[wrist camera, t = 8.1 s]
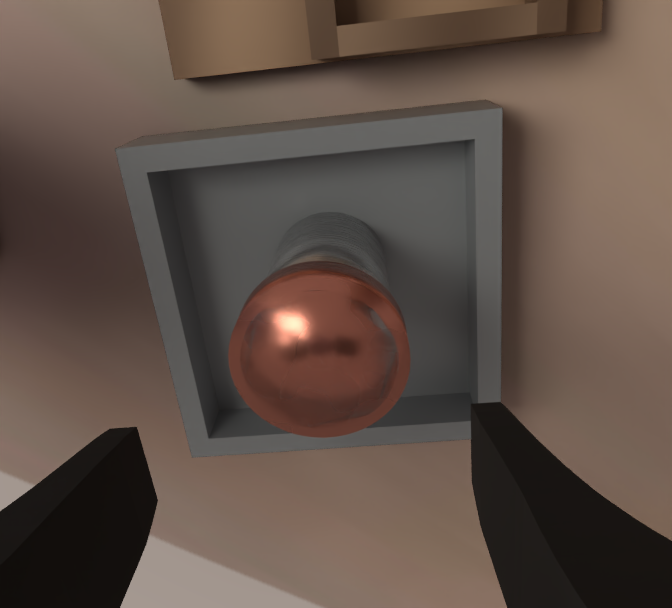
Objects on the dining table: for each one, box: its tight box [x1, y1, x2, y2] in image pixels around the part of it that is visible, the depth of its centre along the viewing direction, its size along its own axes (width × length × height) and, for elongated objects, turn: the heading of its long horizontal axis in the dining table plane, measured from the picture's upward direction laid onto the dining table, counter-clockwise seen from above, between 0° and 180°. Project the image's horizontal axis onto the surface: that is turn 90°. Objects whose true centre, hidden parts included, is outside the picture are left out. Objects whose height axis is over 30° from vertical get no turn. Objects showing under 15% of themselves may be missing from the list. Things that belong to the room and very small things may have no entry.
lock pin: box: [228, 212, 411, 438], centre depth 18 cm, size 5×5×7 cm
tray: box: [115, 100, 502, 457], centre depth 21 cm, size 12×12×2 cm
